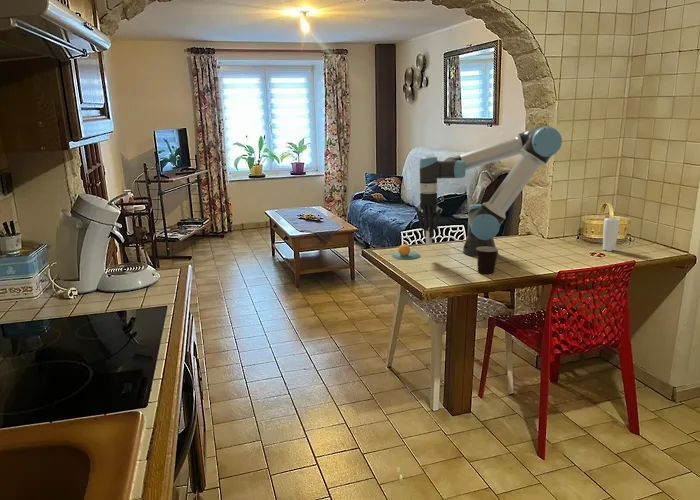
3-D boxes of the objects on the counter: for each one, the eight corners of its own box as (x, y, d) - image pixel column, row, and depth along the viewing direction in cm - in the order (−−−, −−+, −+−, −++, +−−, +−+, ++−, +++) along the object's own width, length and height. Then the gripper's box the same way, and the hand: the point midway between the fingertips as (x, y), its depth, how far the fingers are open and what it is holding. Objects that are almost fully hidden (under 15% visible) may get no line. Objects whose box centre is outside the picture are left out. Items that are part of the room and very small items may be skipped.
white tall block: (617, 249, 249) (621, 218, 245) (615, 252, 244) (619, 221, 240) (601, 247, 253) (605, 217, 249) (599, 250, 247) (603, 219, 243)
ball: (404, 256, 247) (414, 252, 244) (398, 258, 243) (408, 255, 240) (400, 245, 247) (409, 241, 244) (394, 247, 243) (403, 243, 240)
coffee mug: (493, 276, 212) (494, 252, 209) (472, 273, 216) (473, 250, 214) (501, 269, 221) (502, 246, 219) (481, 266, 226) (482, 243, 223)
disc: (425, 254, 246) (425, 254, 246) (411, 261, 235) (411, 260, 235) (400, 250, 253) (400, 250, 253) (386, 257, 243) (386, 256, 243)
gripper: (411, 192, 231) (412, 244, 237) (438, 194, 223) (438, 248, 229) (419, 190, 237) (420, 241, 243) (446, 191, 229) (445, 244, 235)
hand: (428, 244), depth 236 cm, fingers closed
